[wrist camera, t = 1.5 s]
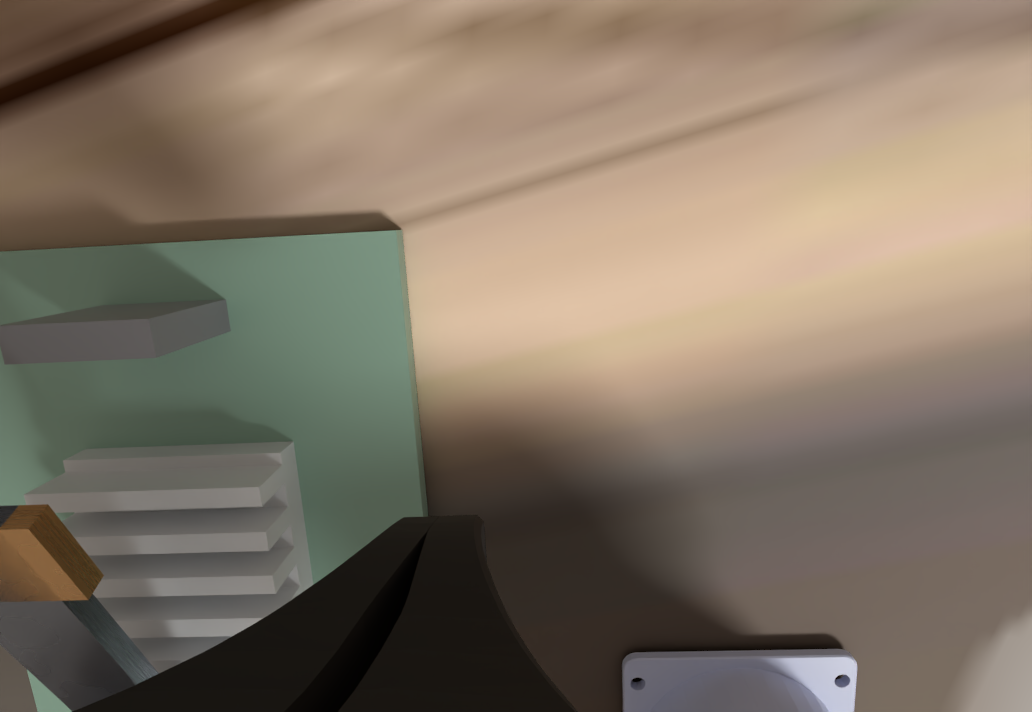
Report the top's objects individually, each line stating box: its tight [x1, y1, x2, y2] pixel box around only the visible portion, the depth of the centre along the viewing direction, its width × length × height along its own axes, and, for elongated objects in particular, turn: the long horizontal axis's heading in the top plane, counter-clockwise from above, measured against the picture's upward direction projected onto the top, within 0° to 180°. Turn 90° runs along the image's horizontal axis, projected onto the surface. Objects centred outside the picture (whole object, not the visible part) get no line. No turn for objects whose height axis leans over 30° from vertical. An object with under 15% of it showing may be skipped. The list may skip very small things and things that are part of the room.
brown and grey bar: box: [0, 504, 159, 711], centre depth 16 cm, size 13×4×2 cm, turn 3°
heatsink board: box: [0, 230, 428, 712], centre depth 19 cm, size 20×15×5 cm
